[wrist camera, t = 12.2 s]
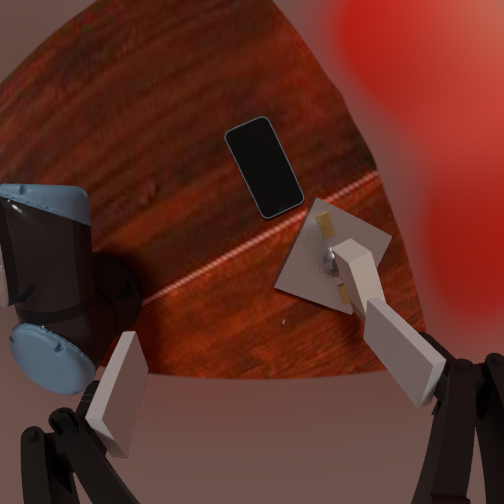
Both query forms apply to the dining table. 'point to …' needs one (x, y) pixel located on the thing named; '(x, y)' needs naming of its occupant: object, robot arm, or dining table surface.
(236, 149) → the smartphone
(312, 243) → the socket
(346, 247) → the grey rectangular block
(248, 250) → the dining table surface
